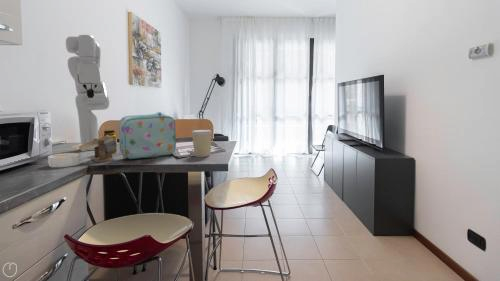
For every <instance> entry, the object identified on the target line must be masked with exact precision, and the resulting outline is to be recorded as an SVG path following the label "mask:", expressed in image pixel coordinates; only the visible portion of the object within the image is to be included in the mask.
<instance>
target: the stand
mask: <svg viewBox="0 0 500 281" xmlns="http://www.w3.org/2000/svg"><path fill="white" fill-rule="evenodd" d="M98 139H99V138H98ZM93 140H97V139H93ZM98 144H99V146H97V147H95V148H94V150H93V151H94V152H93V153H94V157H91V158H90V159H91V160H92V161H94V162H96V163H105V161H106V162H111V161H115V158H113V154H112V153H105V144H104V140H98Z"/></svg>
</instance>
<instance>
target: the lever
mask: <svg viewBox="0 0 500 281" xmlns="http://www.w3.org/2000/svg"><path fill="white" fill-rule="evenodd" d="M98 140H104V144H105V151H107V152H110V151H112V150H115V149H117V150H118V147H117V148H116V146H115V143H114V141H113V140H114V139H113V137H112V136H109V135H107V136H105V137H104V136H102V137H100V138H99V139H97V140H94V141H91V142H89V143H86V144H83V145H82V144H81V143H78V144H75V145H73V146H72V147H71V148H72V149H74V150H77V151H81V152H87V151H90V150H89V149H92V148H95V147H97V146H99V144H98Z"/></svg>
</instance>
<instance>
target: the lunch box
mask: <svg viewBox="0 0 500 281" xmlns="http://www.w3.org/2000/svg"><path fill="white" fill-rule="evenodd" d="M118 135H119V136H118V138H119V139H118V140H119V143H118V144H119V152H120V154H121V155H122V156H123V157H125V158H127V159H129V160H135V159H148V158H157V157H161V156H169V155H172V154H173V153H175V151H176V149H177V141H176V140H177V139H176V121H175V119H174V117H172V116H170V115H167V114H164V113H162V112H159V111H158V112H156V113H151V114H139V115H126V116H123V117H122V118H121V119H119V124H118ZM172 152H173V153H172Z"/></svg>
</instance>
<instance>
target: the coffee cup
mask: <svg viewBox="0 0 500 281" xmlns="http://www.w3.org/2000/svg"><path fill="white" fill-rule="evenodd" d="M191 134H192V135H191V136H192V146H193V153H194V156H195V157H197V158H199V157H200V158H201V157H202V158H203V157H210V156H211V148H212V131H211V129H198V130H197V129H196V130H192V132H191Z"/></svg>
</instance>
